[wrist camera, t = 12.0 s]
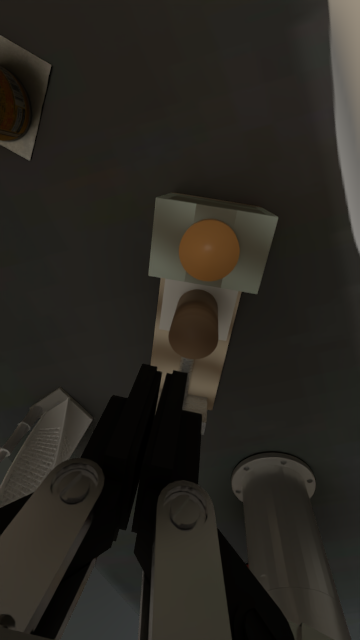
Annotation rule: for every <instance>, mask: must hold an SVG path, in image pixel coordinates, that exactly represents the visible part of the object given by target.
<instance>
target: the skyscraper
mask: <svg viewBox="0 0 360 640" xmlns="http://www.w3.org/2000/svg"><path fill="white" fill-rule="evenodd" d="M39 417H40V420H39V421H38V423H37V424H36V425H35V427H34V428H33V430H32V431H31V433H30V434H29V436H28V437H27V439H26V441H25V442H24V444H23V445H22V447H21V449H20V450H19V452H18V454H17V455H16V457H15V459H14V461H13V463H12V464H11V467H10V468H9V470H8V472H7V474H6V476H5V478H4V480H3V482H2V484H1V486H0V508H1V507H3V506H5V505H7V504H10V503H12V502H14V501H16V500H18V499H20V498H22V497H24V496H26V495H29V494H31V493H33V492H35V491H36V489H37V488H38V487H39V486H40V484H41V483H42V482H43V480H44V479H45V478H46V477H47V475H48V474H49V473H50V472H51V471H52V470H53V469H54V468H55V467H56V466H57V465H59V464H60V463H62V462H64V461H66V460H68V459H69V457H70V456H71V454H72V453H73V451H74V449H75V448H76V446H77V444H78V443H79V441H80V440H81V438H82V436H83V435H84V433H85V431H86V430H87V428H88V426H89V425H90V423H91V421H92V420H93V417H92V416H91V415H90V414H89V413H88V412H87V411H86V410H85V409H84V408H83V407H82V406H81V405H80V404H79V403H77V402H76V401H75V400H74V399H73V398H72V397H71V396H70V395H69V394H68V393H67V392H66V391H65V390H64V389H63V388H61V387H59V388H58V389H56V390H55V391H53V392H52V393H50V394H49V395H47V396H46V397H44V398H43V399H41V400H40V401H38V402H37V403H36V404H34V405H33V406H31V407H30V411H29V412H28V414H27V415H26V417H25V418H24V419H23V421H22V422H21V423H19V424H18V427H17V428H16V430H15V431H14V432H13V434H12V435H11V437H10V438H9V439H8V441H7V442H6V443H5V445H4V446H3V447H2V448H1V449H0V462H1V461H2V460H3V459H4V458H5V456H6V457H7V456H9V455H10V454H11V453H12V451H13V449H14V448H15V446H16V445H17V444H18V442H19V441H20V440H21V439H22V438H23V436H24V435H25V434H26V433H27V431H29V430H30V429H31V427H32V425H33V424H34V422H35V421H36V420H37V419H38V418H39Z"/></svg>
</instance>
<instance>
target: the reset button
mask: <svg viewBox="0 0 360 640" xmlns="http://www.w3.org/2000/svg"><path fill="white" fill-rule="evenodd" d="M239 254H240V248H239V242H238V239H237V237H236V234H235V233H234V231H233V230H232V228H231V227H230V226H229V225H227V224H226V223H224V222H222V221H220V220H217V219H203V220H200V221H198V222H196V223H194V224H193V225H191V226H190V227H189V228H188V229H187V231H186V232H185V234H184V235H183V237H182V239H181V242H180V245H179V258H180V261H181V264H182V266H183V268H184V269H185V270H186V272H187V273H188V274H189V275H191V276H192V277H194V278H196V279H198V280H201V281H216V280H219V279H222V278H224V277H225V276H227V275H228V274H229V273H230V272H231V271H232V270H233V269H234V267H235V266H236V264H237V262H238V259H239Z"/></svg>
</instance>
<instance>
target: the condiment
mask: <svg viewBox="0 0 360 640" xmlns="http://www.w3.org/2000/svg"><path fill="white" fill-rule="evenodd" d="M50 69H51V65H50V64H49V63H47V62H45V61H43V60H42V59H40V58H38V57H37V56H35V55H33V54H31V53H30V52H28V51H26V50H25V49H23V48H21V47H20V46H18V45H16V44H14V43H13V42H11V41H9V40H8V39H6V38H4V37H3V36H1V35H0V145H2V146H4V147H6V148H8V149H9V150H11V151H13V152H15V153H16V154H18V155H20V156H22V157H24V158H26V159H27V160H29V161H30V158H31V154H32V150H33V146H34V143H35V137H36V134H37V130H38V125H39V120H40V115H41V109H42V104H43V102H44V97H45V93H46V89H47V83H48V77H49V74H50Z"/></svg>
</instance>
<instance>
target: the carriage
mask: <svg viewBox="0 0 360 640" xmlns="http://www.w3.org/2000/svg"><path fill="white" fill-rule="evenodd" d="M237 295H238V291H235V290H230V289H224V288H218V287H212V286H206V285H200V284H194V283H189V282H183V281H177V280H171V279H165V285H164V293H163V301H162V309H161V317H160V325H159V329H161V330H167V331H169V335H168V338H169V343H170V345H171V347H172V349H173V350H174V351H175V352H176V353H177V354H179V355H180V356H182V357H184V358H187V359H201V358H205V357H207V356H208V355H210V354H211V353H212V352H213V351H214V350H215V349H216V347H217V344H218V340H223V341H226V340H227V336H228V332H229V328H230V324H231V320H232V315H233V311H234V307H235V303H236V299H237Z"/></svg>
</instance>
